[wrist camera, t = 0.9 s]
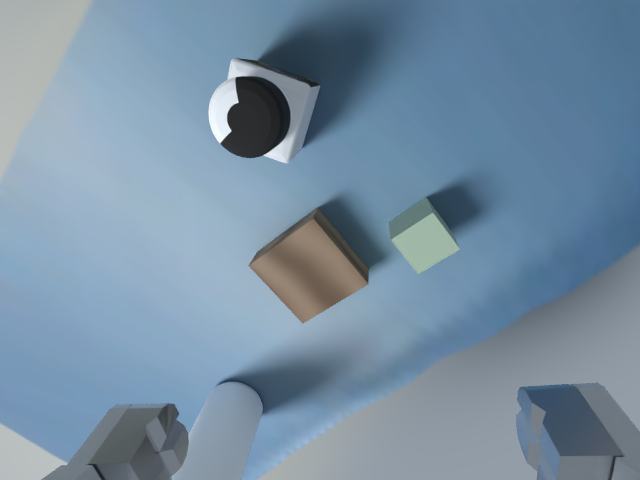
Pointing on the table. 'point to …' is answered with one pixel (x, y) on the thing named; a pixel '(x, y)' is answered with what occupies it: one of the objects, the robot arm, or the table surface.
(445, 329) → the table surface
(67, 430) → the table surface
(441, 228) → the sage green block
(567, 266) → the table surface
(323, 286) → the walnut block
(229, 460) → the alcohol
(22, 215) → the table surface
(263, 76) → the medicine bottle
